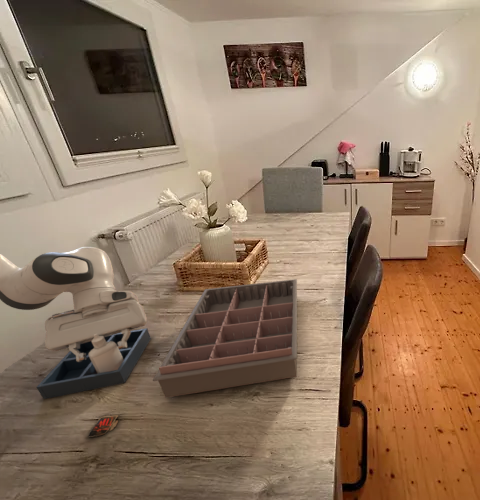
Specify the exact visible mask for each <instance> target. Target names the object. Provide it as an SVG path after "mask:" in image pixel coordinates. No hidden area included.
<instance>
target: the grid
mask: <svg viewBox="0 0 480 500" xmlns="http://www.w3.org/2000/svg"><path fill="white" fill-rule="evenodd" d="M130 333H131V334H130V336H129V338H128V340H127V348H123V349H119V351H120V353H121V355H122V357H123V359H124V361H123V362H122V364H121V365H120V367H119V368H118V370H114V371H109V372H103V373H97V371H96V369H95V367H94V366H93V364H92V362H91V360H90V358H89V355H88V354H89V352H90V351H91V350H92V349H93V348H94V346H93V344H92V342H91V341H90V342H86V343H83V344H80V349H77V350H78V351H79V352H81V353H87V356H86V357H87V360H85V361H82V362H77V361H76V355H75V354H74V353H72V352H71V351H70V350H69V351H68V353H66V355H65V356H63V358H62V359H61V360H60V361H59V362H58V363H57V364H56V365H55V366H54V367H53V368H52V370H51V371H50V372H49V373H48V374H47V375H46V376H45V377H44V378H43V379H42V381H41V382H39V384H38V385H37V386H36V390H37V391H38V393H39V394H40V396H41V397H42V399H43V400H47V399H52V398H57V397H61V396H67V395H72V394H77V393H82V392H87V391H91V390H97V389H102V388H106V387H111V386H116V385H122V384H125V383H126V382H127V380H128V379H129V377H130V376H131V374H132V373H133V370H134V369H135V366H136V365H137V363H138V361H139V360H140V358H141V356H142V355H143V353H144V351H145V350H146V348H147V346H148V345H149V343H150V341H151V339H152V336H151V334H150V332H149V329H148V328H146V327H145V328H141V329H135V330H134V329H133V330H130ZM123 336H124V335H123V334H122V333H117V334H114V335H111V336H107V337H104V339H105V341H106V342H110V341H113V342H115V343H116V345H117V346H119V345H118V342H120V341H121V340H122V338H123Z"/></svg>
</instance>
